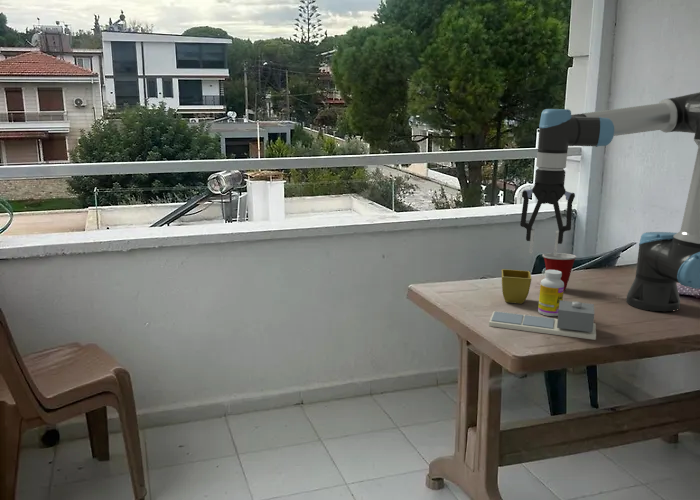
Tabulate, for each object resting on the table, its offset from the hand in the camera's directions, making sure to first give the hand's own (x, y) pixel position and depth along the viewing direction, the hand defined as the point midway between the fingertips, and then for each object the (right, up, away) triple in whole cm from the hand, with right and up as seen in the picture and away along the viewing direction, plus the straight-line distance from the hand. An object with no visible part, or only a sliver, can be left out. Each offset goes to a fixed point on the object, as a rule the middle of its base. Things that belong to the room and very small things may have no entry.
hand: (542, 253), depth 175 cm
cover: (+9, -19, +1) cm, 22 cm away
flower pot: (-1, -15, +27) cm, 31 cm away
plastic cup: (+17, -12, +40) cm, 45 cm away
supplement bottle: (+7, -18, +16) cm, 25 cm away
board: (+1, -20, +4) cm, 21 cm away
